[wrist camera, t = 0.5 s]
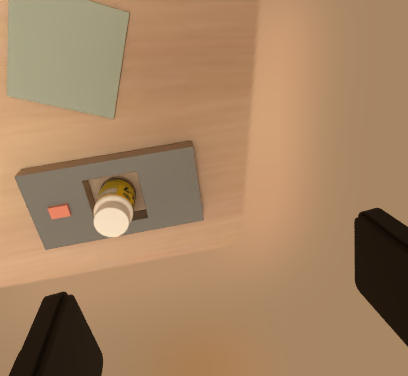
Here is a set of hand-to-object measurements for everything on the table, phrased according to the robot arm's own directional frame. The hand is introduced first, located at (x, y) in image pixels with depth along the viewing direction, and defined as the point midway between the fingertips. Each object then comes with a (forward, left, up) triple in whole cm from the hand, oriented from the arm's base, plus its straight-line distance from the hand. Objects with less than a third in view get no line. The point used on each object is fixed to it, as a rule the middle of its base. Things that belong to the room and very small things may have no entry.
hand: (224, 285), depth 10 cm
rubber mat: (-2, -12, -33) cm, 36 cm away
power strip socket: (+14, -4, -33) cm, 36 cm away
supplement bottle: (+14, -4, -33) cm, 36 cm away
